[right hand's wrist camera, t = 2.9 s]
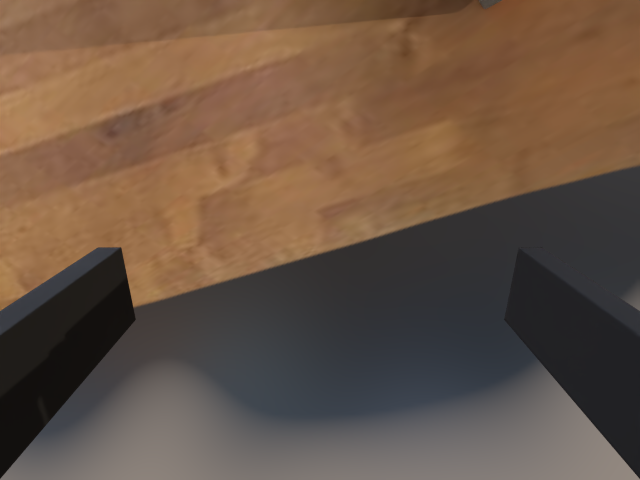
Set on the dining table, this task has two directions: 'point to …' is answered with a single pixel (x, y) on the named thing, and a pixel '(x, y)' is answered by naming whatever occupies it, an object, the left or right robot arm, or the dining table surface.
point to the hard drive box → (488, 3)
